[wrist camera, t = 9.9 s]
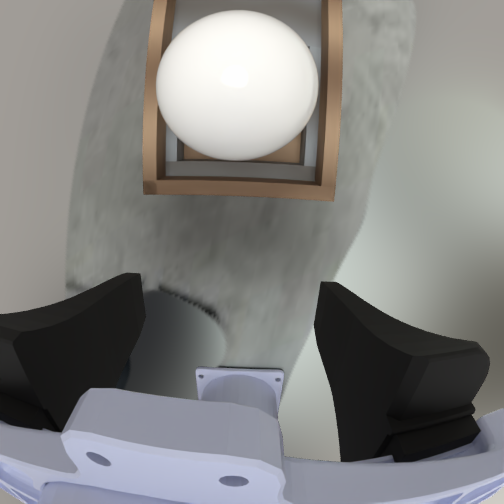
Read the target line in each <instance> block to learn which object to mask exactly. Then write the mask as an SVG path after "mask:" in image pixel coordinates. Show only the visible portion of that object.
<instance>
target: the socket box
mask: <svg viewBox="0 0 504 504" xmlns="http://www.w3.org/2000/svg"><path fill="white" fill-rule="evenodd" d="M228 10H249V11H256V12H260V13H264V14H267V15H269V16H272V17H274V18H276V19H278V20H280V21H282V22H283V23H285V24H287V25H288V26H289V27H291V28H292V29H293V30H294V31H295V32H296V33H297V34H298V35H299V36H300V37H301V38H302V39H303V41H304V42H305V43H306V45H307V46H308V48H309V50H310V51H311V53H312V55H313V58H314V60H315V63H316V67H317V71H318V79H319V91H318V98H317V102H316V106H315V109H314V111H313V114H312V116H311V118H310V120H309V121H308V123H307V125H306V126H305V127H304V129H303V130H302V131H301V132H300V133H299V135H298V136H297V137H296V138H294V139H293V140H292V141H291V142H290V143H288V144H287V145H286V146H284V147H283V148H281V149H279V150H277V151H275V152H273V153H271V154H269V155H266V156H263V157H260V158H256V159H251V160H243V161H229V160H221V159H216V158H212V157H209V156H206V155H203V154H201V153H199V152H197V151H195V150H193V149H191V148H190V147H188V146H187V145H186V144H184V143H183V142H182V141H181V140H180V139H179V138H177V136H176V135H175V134H174V133H173V132H172V131H171V129H170V128H169V127H168V125H167V124H166V122H165V120H164V118H163V116H162V114H161V112H160V109H159V106H158V102H157V96H156V76H157V71H158V67H159V64H160V61H161V58H162V56H163V54H164V52H165V50H166V49H167V47H168V46H169V44H170V43H171V42H172V40H173V39H174V38H175V37H176V36H177V35H178V34H179V33H180V32H181V31H182V30H183V29H184V28H186V27H187V26H188V25H190V24H191V23H193V22H195V21H197V20H198V19H200V18H203V17H205V16H207V15H210V14H213V13H217V12H221V11H228ZM342 64H343V27H342V0H154V4H153V11H152V18H151V26H150V34H149V43H148V52H147V63H146V76H145V92H144V113H143V195H222V196H250V197H271V198H290V199H305V200H320V201H333V202H334V196H335V186H336V175H337V164H338V151H339V137H340V120H341V100H342Z"/></svg>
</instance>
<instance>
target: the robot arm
mask: <svg viewBox="0 0 504 504" xmlns="http://www.w3.org/2000/svg"><path fill="white" fill-rule="evenodd" d="M145 318H146V314H145V307H144V299H143V292H142V284H141V275H140V274H139V273H124V274H121V275H119V276H116V277H114V278H112V279H110V280H108V281H106V282H104V283H102V284H100V285H98V286H96V287H93V288H91V289H89V290H87V291H85V292H83V293H80V294H78V295H76V296H74V297H71V298H69V299H66V300H64V301H61V302H58V303H55V304H52V305H48V306H45V307H41V308H36V309H32V310H28V311H23V312H17V313H9V314H0V488H2V489H3V490H4V491H6V492H8V493H9V494H11V495H12V496H14V497H15V498H17V499H18V500H20V501H22V502H23V503H25V504H479V503H481V502H483V501H485V500H486V499H488V498H490V497H491V496H493V495H494V494H495V493H496V492H497V491H499V490H500V489H501V488H502V487H503V486H504V408H501V409H499V410H496V411H494V412H491V413H489V414H486V415H484V416H482V417H480V418H479V419H478V420H477V421H475V420H474V418H473V416H472V415H471V414H473V413H474V412H475V407H474V406H473V404H472V400H473V399H474V397H475V396H476V394H477V392H478V391H479V389H480V387H481V386H482V384H483V382H484V380H485V378H486V376H487V374H488V370H489V366H490V360H489V356H488V355H487V353H486V352H485V351H484V350H483V349H482V347H481V346H480V345H479V344H478V343H477V342H474V341H467V340H461V339H454V338H449V337H445V336H441V335H437V334H434V333H430V332H427V331H424V330H421V329H419V328H416V327H413V326H410V325H408V324H406V323H403V322H401V321H399V320H397V319H395V318H393V317H391V316H389V315H387V314H385V313H384V312H382V311H380V310H378V309H377V308H375V307H374V306H372V305H370V304H369V303H367V302H366V301H364V300H363V299H361V298H360V297H358V296H357V295H356V294H354V293H353V292H351V291H350V290H348V289H347V288H345V287H344V286H342V285H341V284H339V283H337V282H321V284H320V290H319V297H318V303H317V309H316V315H315V321H314V329H315V336H316V341H317V346H318V349H319V352H320V356H321V359H322V362H323V365H324V368H325V371H326V374H327V378H328V381H329V384H330V387H331V391H332V395H333V401H334V407H335V413H336V420H337V428H338V436H339V446H340V457H341V462H333V461H321V460H311V459H301V458H294V457H286V456H284V448H283V436H282V432H281V429H280V425H279V422H278V410H279V404H280V398H281V392H282V386H283V379H284V372H283V371H282V370H268V369H236V368H217V367H203V366H200V367H197V368H196V382H197V392H198V400H192V399H182V398H174V397H165V396H158V395H151V394H144V393H138V392H132V391H126V390H121V389H115V388H116V385H117V382H118V380H119V377H120V375H121V373H122V371H123V369H124V367H125V364H126V362H127V360H128V358H129V356H130V354H131V352H132V350H133V348H134V346H135V344H136V342H137V340H138V338H139V336H140V333H141V331H142V328H143V324H144V321H145ZM201 375H203V376H201ZM276 378H279V379H276Z"/></svg>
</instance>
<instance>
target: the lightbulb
mask: <svg viewBox="0 0 504 504" xmlns="http://www.w3.org/2000/svg"><path fill="white" fill-rule="evenodd" d="M318 91H319V79H318V71H317V67H316V63H315V60H314V58H313V55H312V53H311V51H310V50H309V48H308V46H307V45H306V43H305V42H304V41H303V39H302V38H301V37H300V36H299V35H298V34H297V33H296V32H295V31H294V30H293V29H292V28H291V27H289V26H288V25H287V24H285V23H283V22H282V21H280V20H278V19H276V18H274V17H272V16H269V15H267V14H264V13H260V12H256V11H249V10H228V11H221V12H217V13H213V14H210V15H207V16H205V17H203V18H200V19H198V20H197V21H195V22H193V23H191V24H190V25H188V26H187V27H186V28H184V29H183V30H182V31H181V32H180V33H179V34H178V35H177V36H176V37H175V38H174V39H173V40H172V42H171V43H170V44H169V46H168V47H167V49H166V50H165V52H164V54H163V56H162V58H161V61H160V64H159V67H158V71H157V76H156V96H157V102H158V106H159V109H160V112H161V114H162V116H163V118H164V120H165V122H166V124H167V125H168V127H169V128H170V129H171V131H172V132H173V133H174V134H175V135H176V136H177V138H179V139H180V140H181V141H182V142H183V143H184V144H186V145H187V146H188V147H190V148H191V149H193V150H195V151H197V152H199V153H201V154H203V155H206V156H209V157H212V158H216V159H221V160H229V161H243V160H251V159H256V158H260V157H263V156H266V155H269V154H271V153H273V152H275V151H277V150H279V149H281V148H283V147H284V146H286V145H287V144H288V143H290V142H291V141H292V140H293V139H294V138H296V137H297V136H298V135H299V133H300V132H301V131H302V130H303V129H304V127H305V126H306V125H307V123H308V121H309V120H310V118H311V116H312V114H313V111H314V109H315V106H316V102H317V98H318Z"/></svg>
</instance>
